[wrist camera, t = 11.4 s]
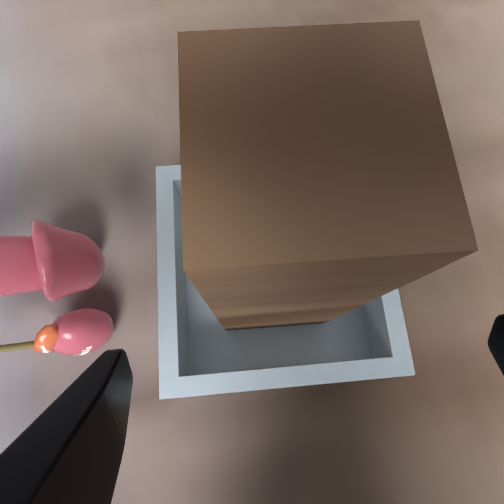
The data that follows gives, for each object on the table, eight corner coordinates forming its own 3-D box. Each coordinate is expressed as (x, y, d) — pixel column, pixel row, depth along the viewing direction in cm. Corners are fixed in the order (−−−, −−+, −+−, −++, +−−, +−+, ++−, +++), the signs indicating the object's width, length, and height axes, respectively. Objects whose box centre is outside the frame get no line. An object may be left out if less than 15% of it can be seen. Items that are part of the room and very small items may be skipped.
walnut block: (324, 323, 19) (478, 250, 6) (225, 330, 19) (183, 270, 6) (312, 230, 20) (418, 20, 8) (220, 236, 20) (177, 31, 7)
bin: (385, 372, 19) (415, 375, 15) (175, 392, 18) (159, 399, 15) (351, 183, 22) (370, 151, 18) (170, 197, 21) (155, 166, 18)
